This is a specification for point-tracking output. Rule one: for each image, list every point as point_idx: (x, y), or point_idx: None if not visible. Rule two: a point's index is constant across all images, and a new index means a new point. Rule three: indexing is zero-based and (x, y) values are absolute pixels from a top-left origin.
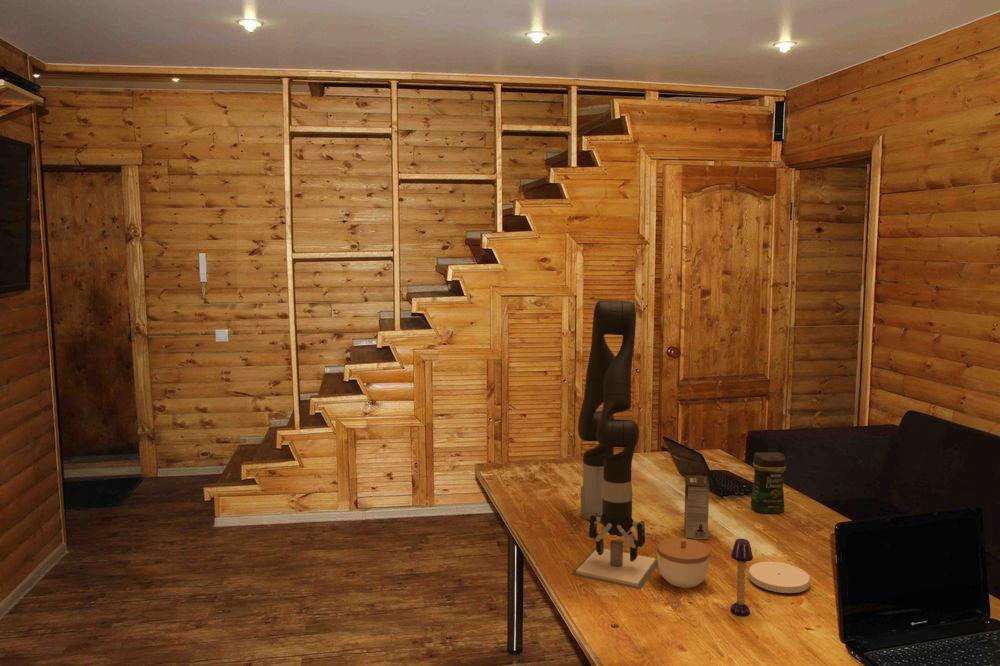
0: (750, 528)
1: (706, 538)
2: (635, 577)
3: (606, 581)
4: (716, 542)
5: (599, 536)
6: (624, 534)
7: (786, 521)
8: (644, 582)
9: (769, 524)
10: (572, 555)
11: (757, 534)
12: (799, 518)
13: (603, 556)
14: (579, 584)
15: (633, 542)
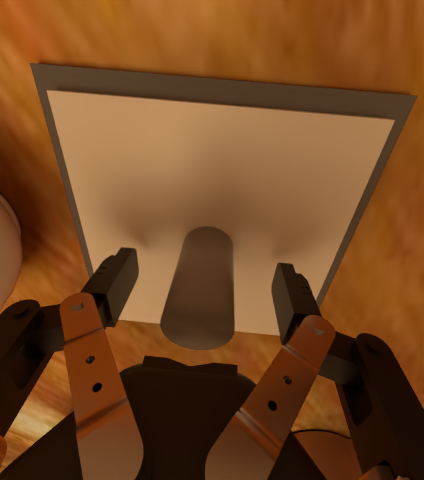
0: (38, 439)
1: (72, 410)
2: (90, 158)
3: (214, 87)
4: (52, 403)
5: (312, 345)
6: (96, 373)
7: (11, 455)
8: (56, 150)
9: (23, 448)
10: (384, 287)
11: (15, 428)
12: (3, 460)
13: (270, 289)
14: (361, 6)
15: (62, 322)
